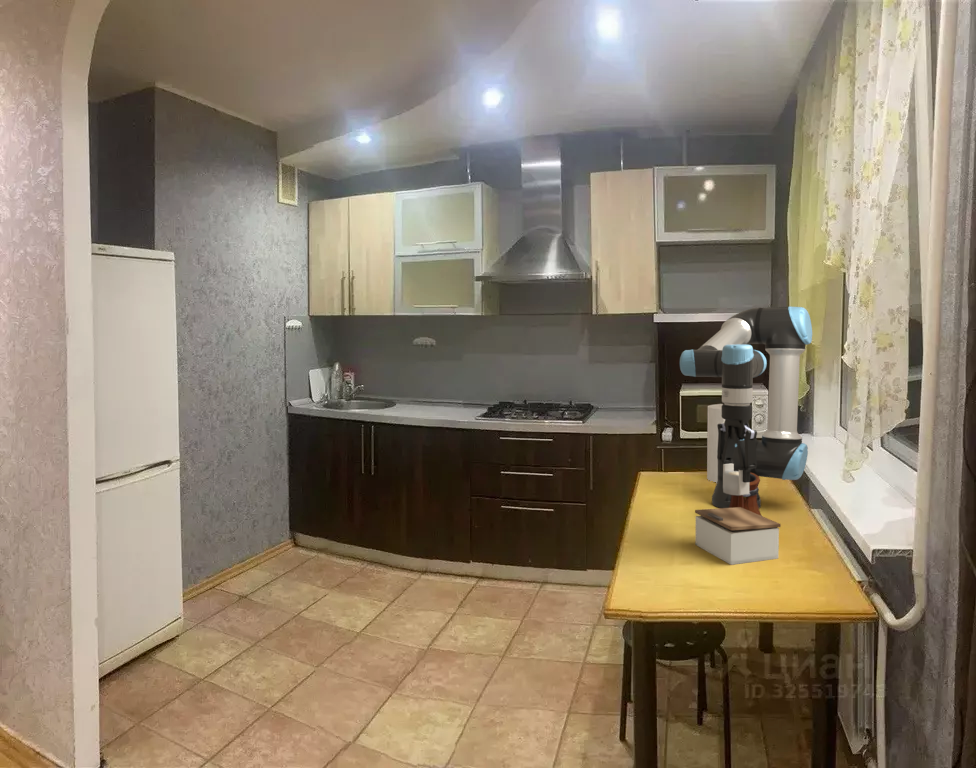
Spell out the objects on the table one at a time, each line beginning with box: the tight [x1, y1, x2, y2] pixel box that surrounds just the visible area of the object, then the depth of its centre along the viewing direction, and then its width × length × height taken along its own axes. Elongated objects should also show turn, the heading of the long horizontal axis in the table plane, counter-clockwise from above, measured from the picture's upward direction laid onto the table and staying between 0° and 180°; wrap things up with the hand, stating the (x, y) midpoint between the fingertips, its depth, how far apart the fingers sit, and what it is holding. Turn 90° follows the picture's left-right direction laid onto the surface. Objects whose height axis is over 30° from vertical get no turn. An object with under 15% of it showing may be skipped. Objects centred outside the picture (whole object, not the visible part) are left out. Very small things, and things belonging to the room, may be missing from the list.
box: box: [695, 515, 780, 566], centre depth 179 cm, size 14×16×8 cm
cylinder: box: [706, 403, 725, 484], centre depth 255 cm, size 17×17×28 cm
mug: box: [729, 472, 763, 516], centre depth 199 cm, size 18×12×15 cm, turn 153°
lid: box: [694, 507, 782, 530], centre depth 178 cm, size 14×16×1 cm
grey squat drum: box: [723, 471, 746, 495], centre depth 177 cm, size 6×6×5 cm
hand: (735, 490), depth 177 cm, fingers closed on grey squat drum, 6 cm apart
